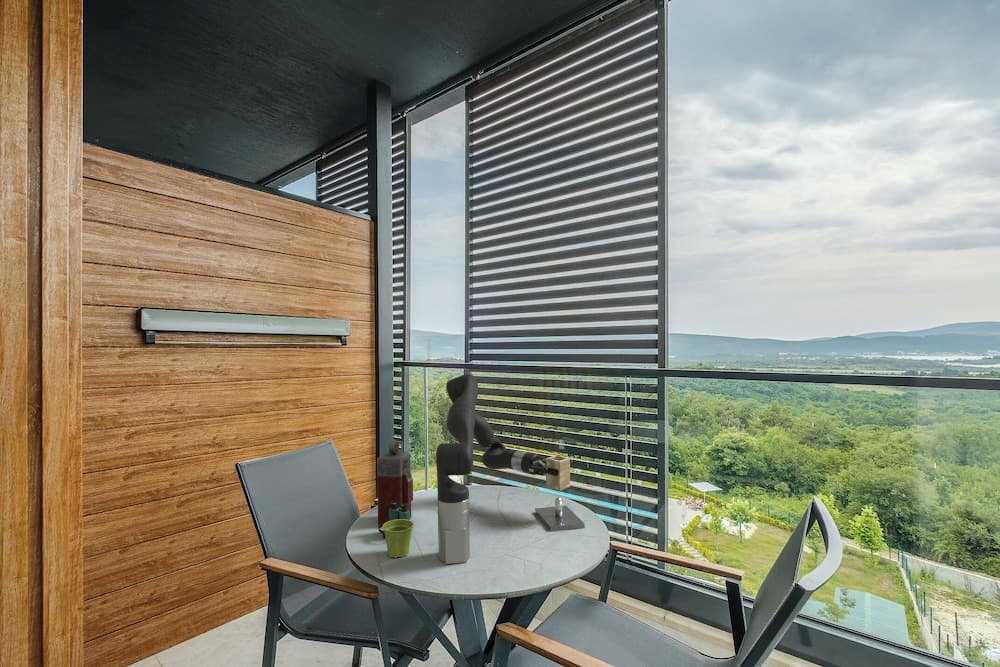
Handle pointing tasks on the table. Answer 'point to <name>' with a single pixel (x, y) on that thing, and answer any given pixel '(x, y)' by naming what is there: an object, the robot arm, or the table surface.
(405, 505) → the binoculars
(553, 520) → the post plate
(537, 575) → the table surface
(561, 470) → the wooden sleeve
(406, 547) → the plant pot
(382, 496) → the dark red bottle
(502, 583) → the table surface
